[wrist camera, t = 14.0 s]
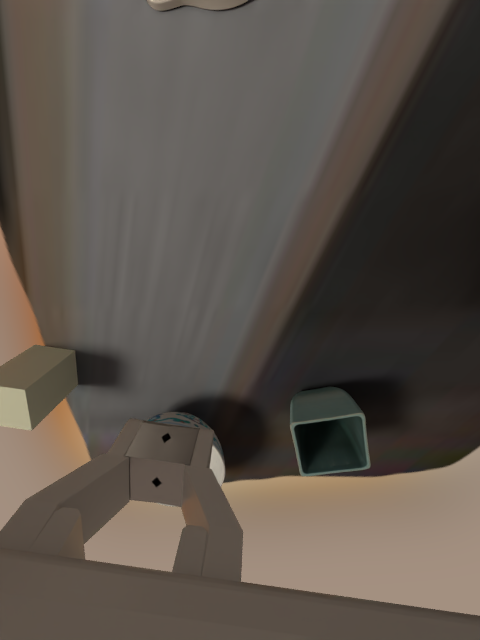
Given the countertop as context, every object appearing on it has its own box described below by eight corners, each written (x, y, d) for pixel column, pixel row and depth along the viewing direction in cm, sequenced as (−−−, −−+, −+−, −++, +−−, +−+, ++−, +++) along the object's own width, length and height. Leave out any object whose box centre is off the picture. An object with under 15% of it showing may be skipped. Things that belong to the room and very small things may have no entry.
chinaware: (119, 420, 47) (94, 458, 40) (187, 372, 43) (173, 405, 36) (180, 476, 51) (168, 520, 44) (248, 437, 47) (247, 479, 40)
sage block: (40, 379, 45) (-17, 423, 36) (34, 344, 43) (-27, 382, 34) (78, 384, 45) (31, 430, 36) (75, 350, 43) (24, 389, 34)
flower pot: (282, 382, 43) (289, 424, 35) (343, 371, 42) (365, 412, 34) (293, 428, 46) (300, 478, 38) (349, 420, 45) (371, 469, 36)
